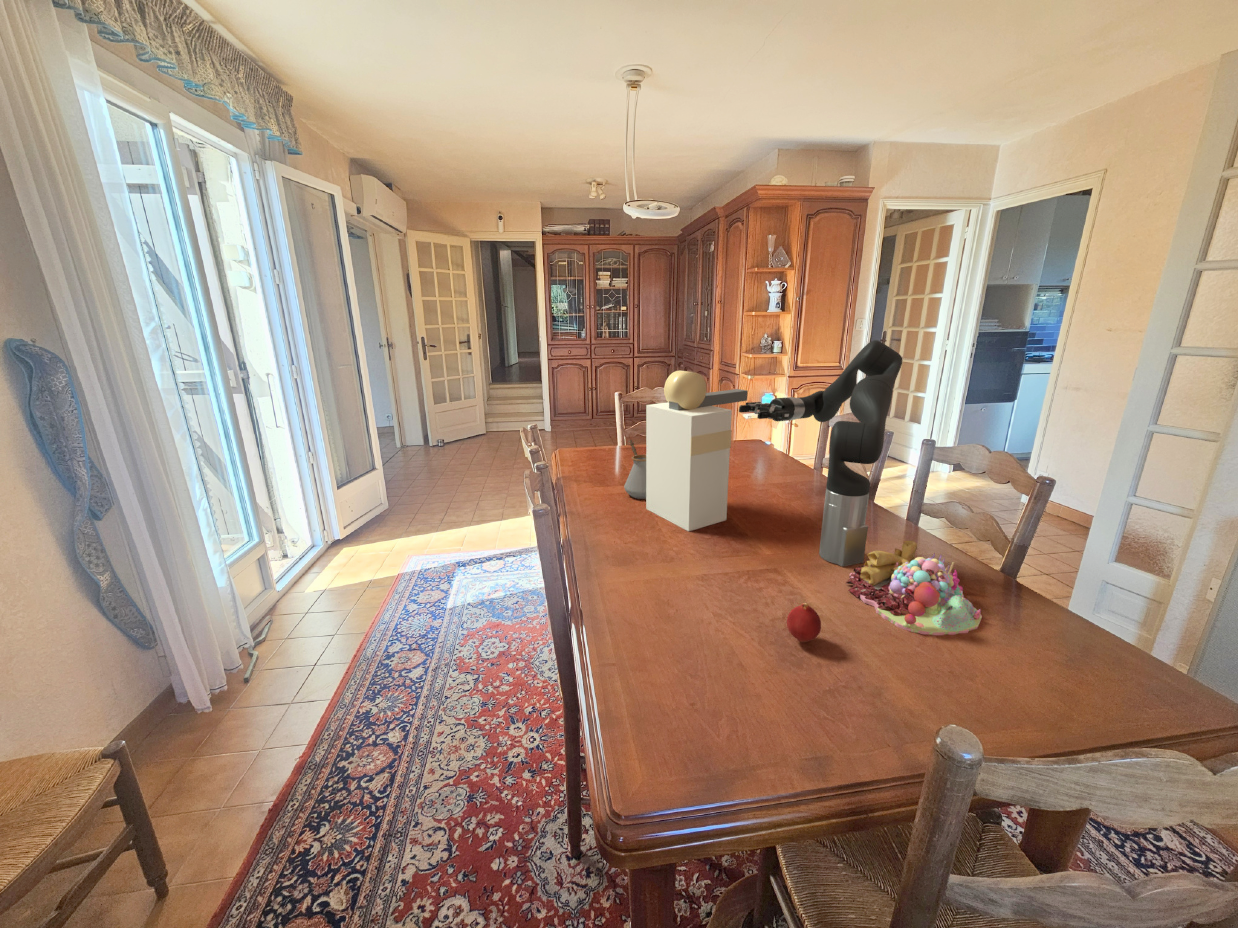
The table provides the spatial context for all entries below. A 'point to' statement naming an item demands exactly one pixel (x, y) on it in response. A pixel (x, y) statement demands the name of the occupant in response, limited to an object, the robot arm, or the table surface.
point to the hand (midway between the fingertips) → (749, 412)
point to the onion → (804, 623)
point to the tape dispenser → (696, 392)
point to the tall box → (688, 464)
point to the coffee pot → (637, 476)
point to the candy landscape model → (914, 592)
